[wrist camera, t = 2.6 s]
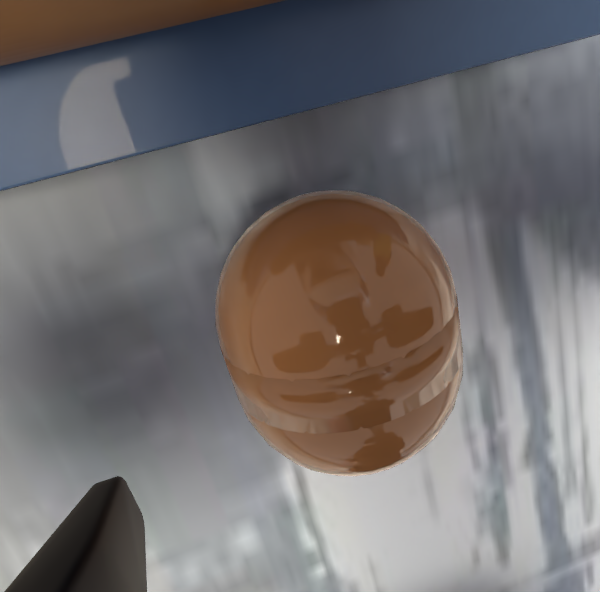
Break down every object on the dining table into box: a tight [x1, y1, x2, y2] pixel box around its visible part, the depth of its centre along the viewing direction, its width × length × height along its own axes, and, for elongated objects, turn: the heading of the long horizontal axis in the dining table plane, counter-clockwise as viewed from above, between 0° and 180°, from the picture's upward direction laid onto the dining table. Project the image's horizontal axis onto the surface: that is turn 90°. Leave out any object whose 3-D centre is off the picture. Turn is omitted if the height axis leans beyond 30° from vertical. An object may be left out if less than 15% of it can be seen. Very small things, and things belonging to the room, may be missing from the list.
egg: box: [215, 190, 463, 476], centre depth 11 cm, size 5×6×5 cm
